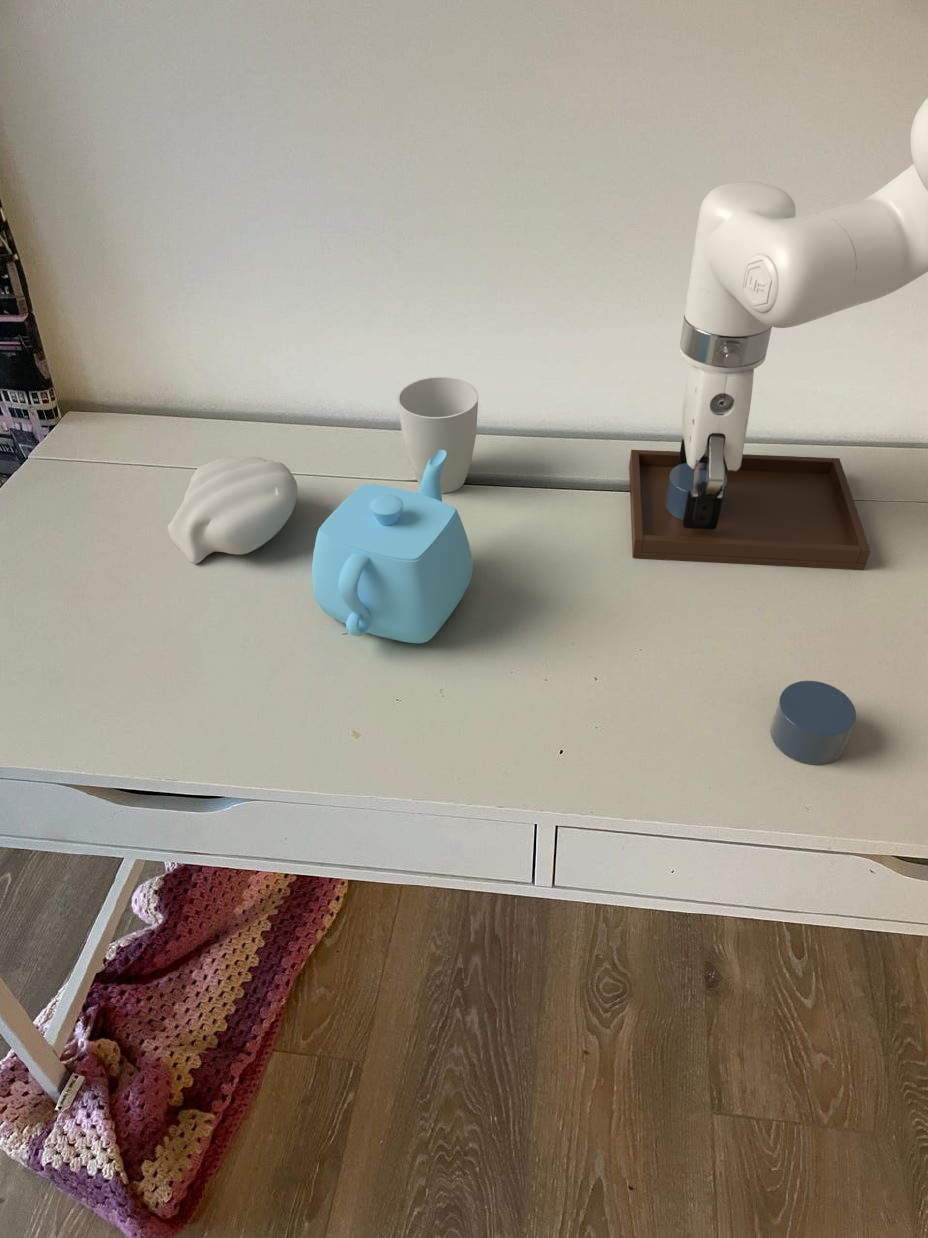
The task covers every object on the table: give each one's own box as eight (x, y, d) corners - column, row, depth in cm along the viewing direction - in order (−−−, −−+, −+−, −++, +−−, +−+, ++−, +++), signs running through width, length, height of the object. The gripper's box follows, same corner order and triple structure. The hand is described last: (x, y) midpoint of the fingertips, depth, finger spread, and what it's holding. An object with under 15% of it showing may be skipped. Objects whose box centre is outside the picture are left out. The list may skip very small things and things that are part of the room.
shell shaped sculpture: (307, 491, 100) (298, 438, 95) (298, 567, 90) (289, 512, 86) (183, 497, 99) (169, 444, 95) (162, 574, 90) (146, 520, 85)
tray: (834, 476, 100) (839, 457, 98) (864, 570, 88) (870, 551, 87) (629, 467, 102) (631, 449, 100) (632, 558, 90) (634, 539, 89)
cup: (489, 466, 102) (488, 383, 96) (464, 508, 97) (462, 423, 90) (419, 453, 104) (414, 371, 98) (392, 494, 99) (384, 410, 92)
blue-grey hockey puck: (851, 725, 74) (863, 695, 72) (835, 775, 71) (847, 745, 69) (780, 701, 76) (789, 671, 74) (762, 749, 73) (771, 719, 71)
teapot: (503, 557, 91) (504, 456, 83) (417, 680, 79) (409, 576, 71) (391, 525, 95) (382, 426, 87) (293, 638, 83) (273, 535, 75)
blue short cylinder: (728, 499, 96) (734, 470, 93) (712, 529, 92) (717, 499, 90) (675, 485, 98) (680, 456, 95) (657, 513, 94) (661, 484, 92)
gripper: (782, 388, 76) (743, 556, 88) (756, 296, 88) (725, 453, 100) (687, 385, 76) (661, 552, 88) (675, 294, 89) (654, 451, 101)
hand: (695, 499), depth 94 cm, fingers open, 8 cm apart
